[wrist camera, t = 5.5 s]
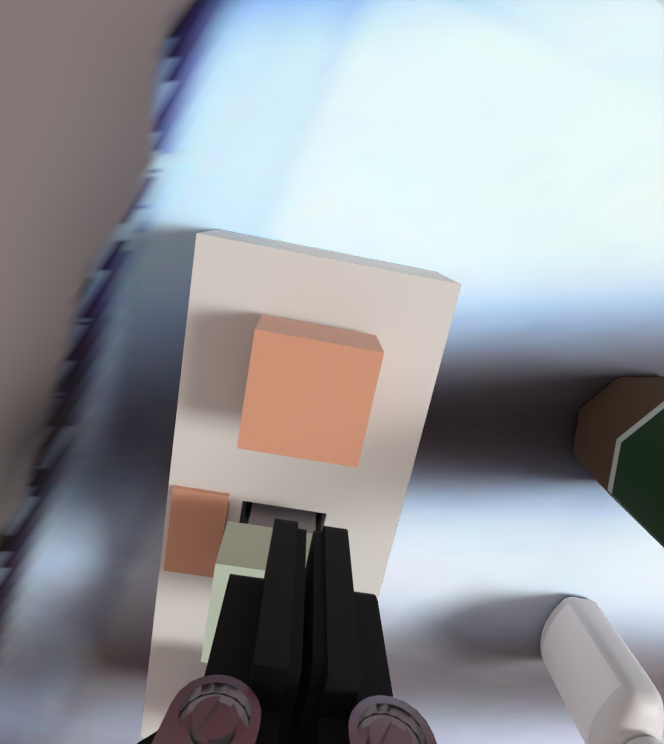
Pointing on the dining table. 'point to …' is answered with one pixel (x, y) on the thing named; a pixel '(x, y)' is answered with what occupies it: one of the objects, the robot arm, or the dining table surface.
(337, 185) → the dining table surface
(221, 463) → the console
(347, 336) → the terracotta button
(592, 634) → the eye dropper bottle
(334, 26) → the dining table surface
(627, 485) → the beer bottle
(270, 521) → the sage button
